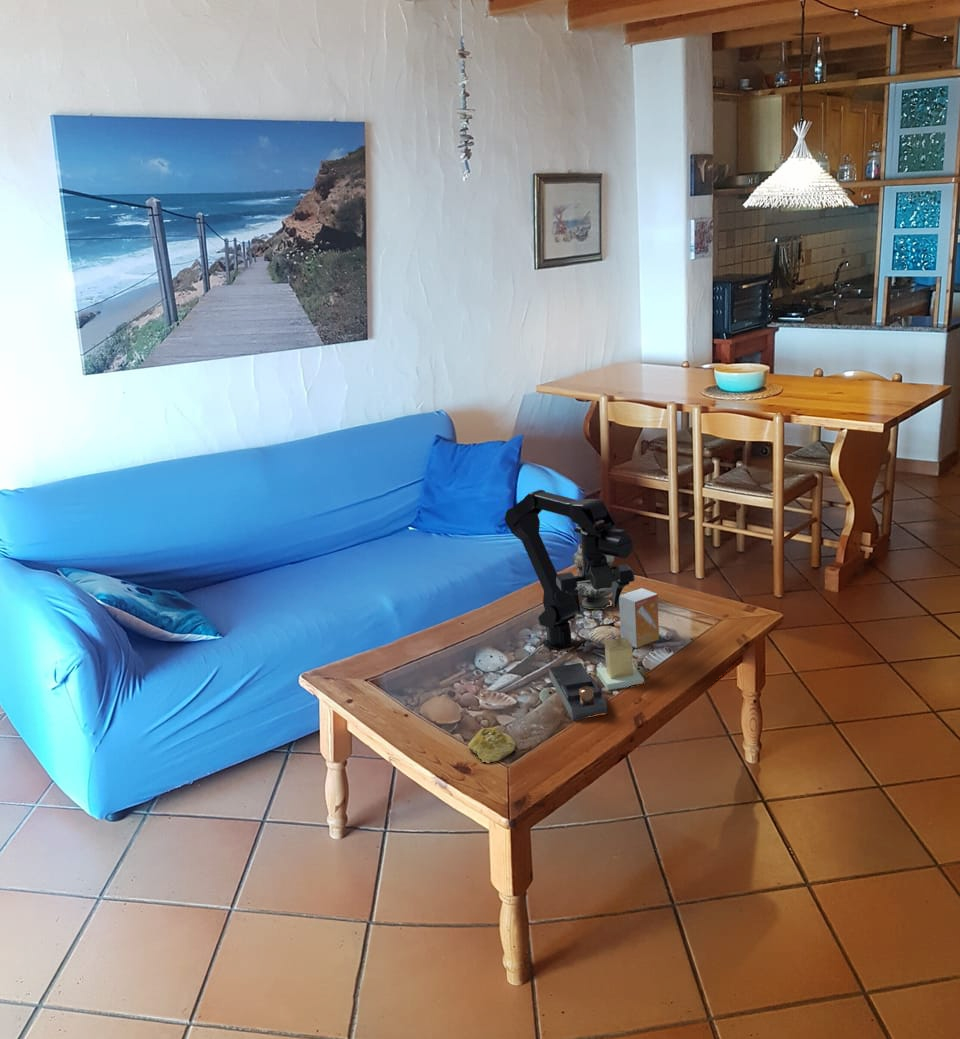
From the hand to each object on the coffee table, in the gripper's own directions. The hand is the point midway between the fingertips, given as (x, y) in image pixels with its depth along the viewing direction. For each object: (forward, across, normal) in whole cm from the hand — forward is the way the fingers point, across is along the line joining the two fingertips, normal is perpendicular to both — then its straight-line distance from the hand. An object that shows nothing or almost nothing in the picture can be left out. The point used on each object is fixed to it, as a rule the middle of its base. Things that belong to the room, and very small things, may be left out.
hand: (596, 609), depth 242 cm
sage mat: (+13, +1, -14) cm, 19 cm away
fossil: (+14, -34, -36) cm, 52 cm away
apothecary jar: (+13, +9, +35) cm, 39 cm away
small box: (+13, +13, +6) cm, 19 cm away
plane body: (+13, -11, -19) cm, 25 cm away
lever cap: (+12, +1, -14) cm, 18 cm away
